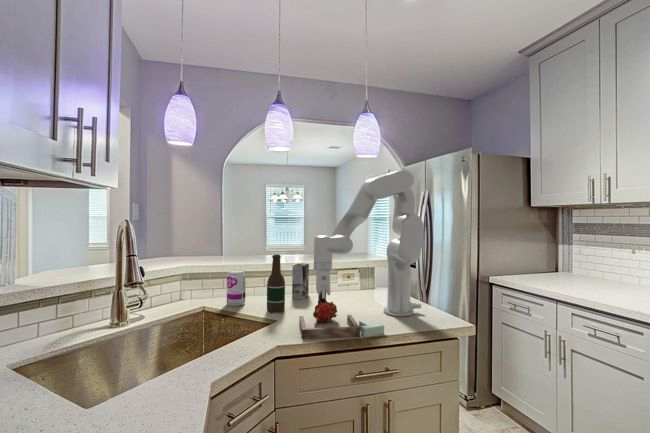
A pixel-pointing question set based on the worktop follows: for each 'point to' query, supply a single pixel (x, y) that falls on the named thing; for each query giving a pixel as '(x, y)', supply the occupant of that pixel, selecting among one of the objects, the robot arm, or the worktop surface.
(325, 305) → the dragon fruit
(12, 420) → the worktop surface
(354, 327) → the bay
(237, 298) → the supplement can
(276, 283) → the beer bottle
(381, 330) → the t block
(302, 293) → the coffee box
